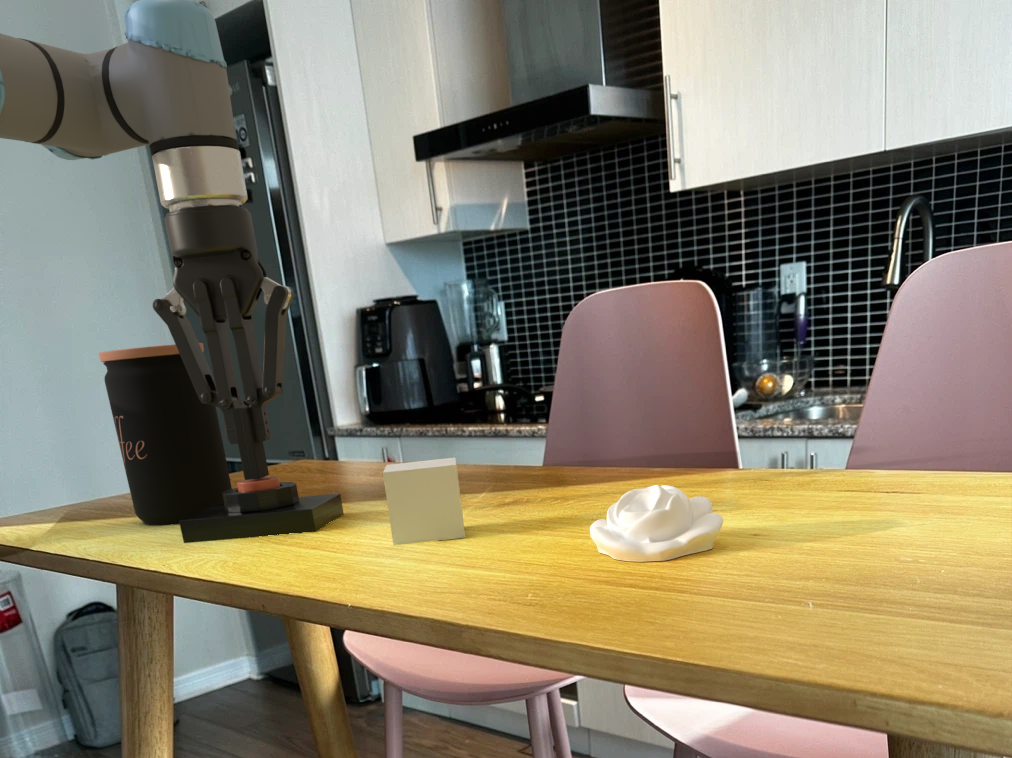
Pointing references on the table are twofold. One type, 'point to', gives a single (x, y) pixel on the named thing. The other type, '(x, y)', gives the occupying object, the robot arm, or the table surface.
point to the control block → (262, 514)
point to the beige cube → (424, 501)
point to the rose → (656, 525)
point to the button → (258, 484)
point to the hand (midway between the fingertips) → (257, 477)
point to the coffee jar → (164, 435)
